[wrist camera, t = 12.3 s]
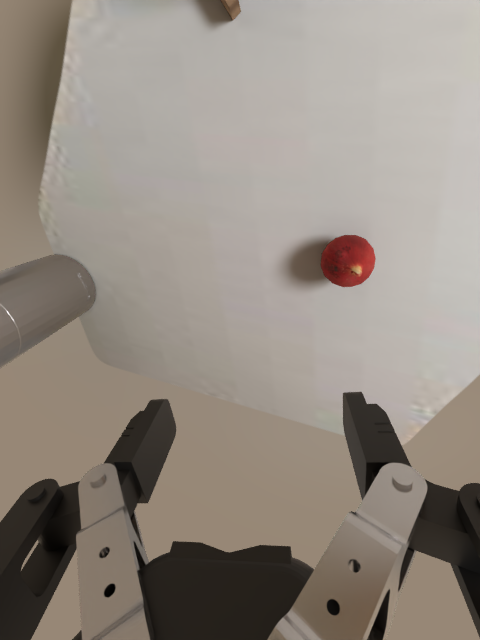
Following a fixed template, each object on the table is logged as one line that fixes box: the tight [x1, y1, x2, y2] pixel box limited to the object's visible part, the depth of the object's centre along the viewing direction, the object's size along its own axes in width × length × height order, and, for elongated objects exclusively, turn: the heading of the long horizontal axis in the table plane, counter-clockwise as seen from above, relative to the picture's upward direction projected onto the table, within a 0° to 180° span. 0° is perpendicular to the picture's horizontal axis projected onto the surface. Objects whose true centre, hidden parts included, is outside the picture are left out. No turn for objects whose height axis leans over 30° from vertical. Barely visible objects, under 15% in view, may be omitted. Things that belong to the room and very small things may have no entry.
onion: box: [321, 235, 375, 287], centre depth 34 cm, size 6×6×8 cm
